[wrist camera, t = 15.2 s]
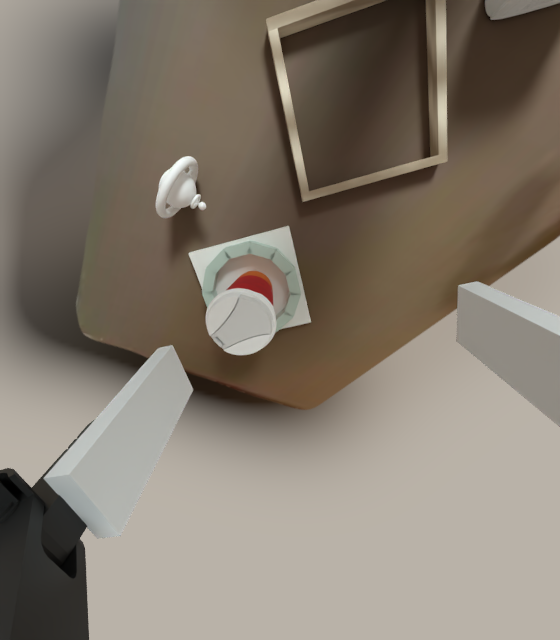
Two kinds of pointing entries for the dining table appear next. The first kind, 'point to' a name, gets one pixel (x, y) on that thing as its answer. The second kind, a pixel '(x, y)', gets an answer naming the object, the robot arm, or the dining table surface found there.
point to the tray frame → (337, 3)
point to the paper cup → (243, 315)
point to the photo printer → (514, 7)
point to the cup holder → (256, 255)
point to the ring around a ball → (178, 188)
